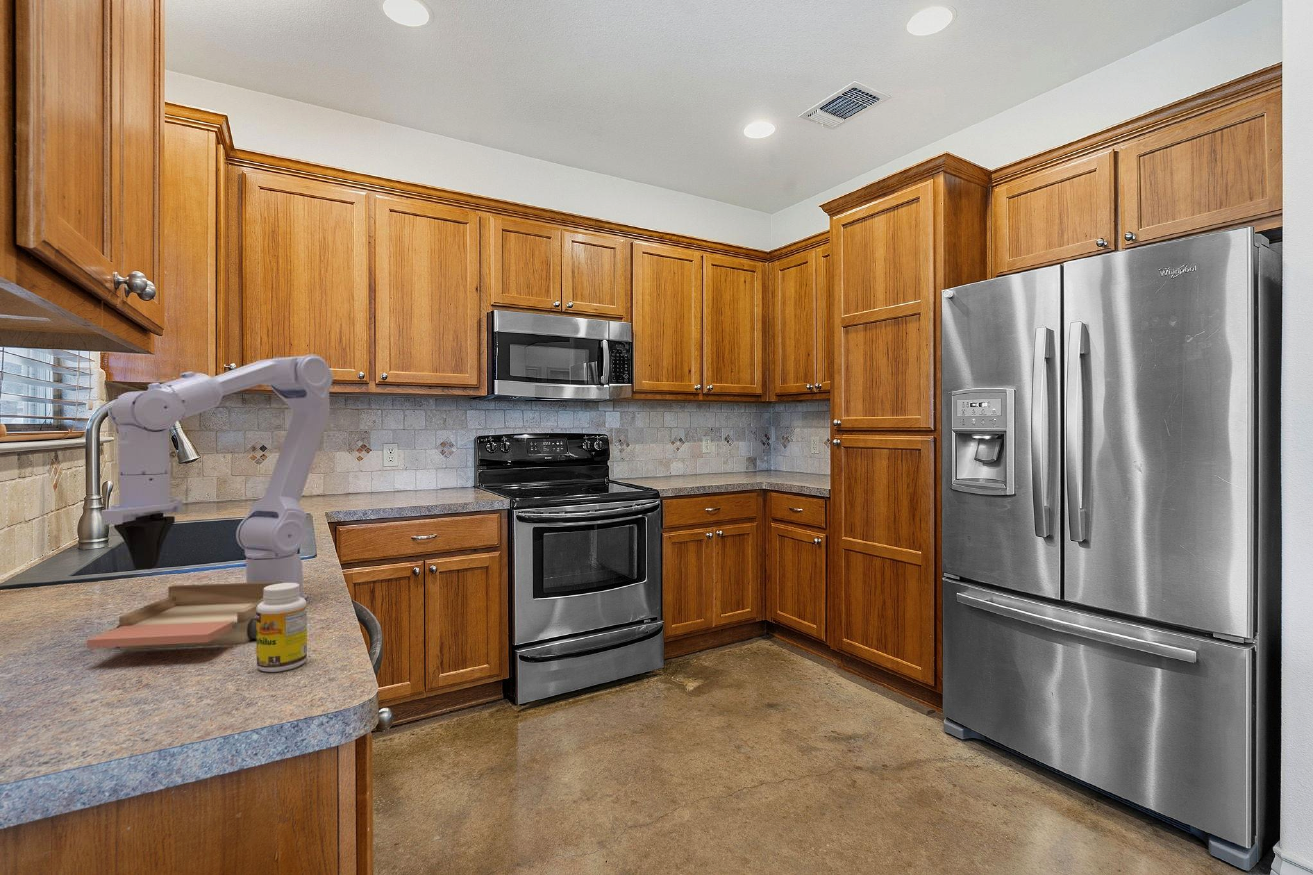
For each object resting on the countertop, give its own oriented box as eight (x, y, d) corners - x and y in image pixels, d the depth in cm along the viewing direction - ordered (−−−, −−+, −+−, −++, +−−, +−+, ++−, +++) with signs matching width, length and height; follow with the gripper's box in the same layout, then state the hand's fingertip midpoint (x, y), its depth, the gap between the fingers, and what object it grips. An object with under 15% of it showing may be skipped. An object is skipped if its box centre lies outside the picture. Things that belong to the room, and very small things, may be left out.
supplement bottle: (247, 668, 80) (246, 588, 80) (291, 655, 85) (290, 579, 85) (272, 676, 77) (271, 593, 77) (316, 662, 82) (315, 583, 82)
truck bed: (164, 624, 99) (164, 585, 99) (289, 618, 102) (289, 581, 102) (110, 650, 87) (110, 606, 87) (253, 643, 90) (253, 600, 90)
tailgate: (122, 625, 87) (85, 640, 80) (236, 620, 89) (209, 634, 82) (122, 632, 87) (85, 648, 80) (236, 627, 89) (209, 642, 82)
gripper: (146, 471, 98) (147, 559, 98) (75, 477, 83) (76, 580, 84) (196, 470, 99) (197, 557, 99) (134, 477, 84) (135, 578, 85)
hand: (145, 568), depth 91 cm, fingers closed
